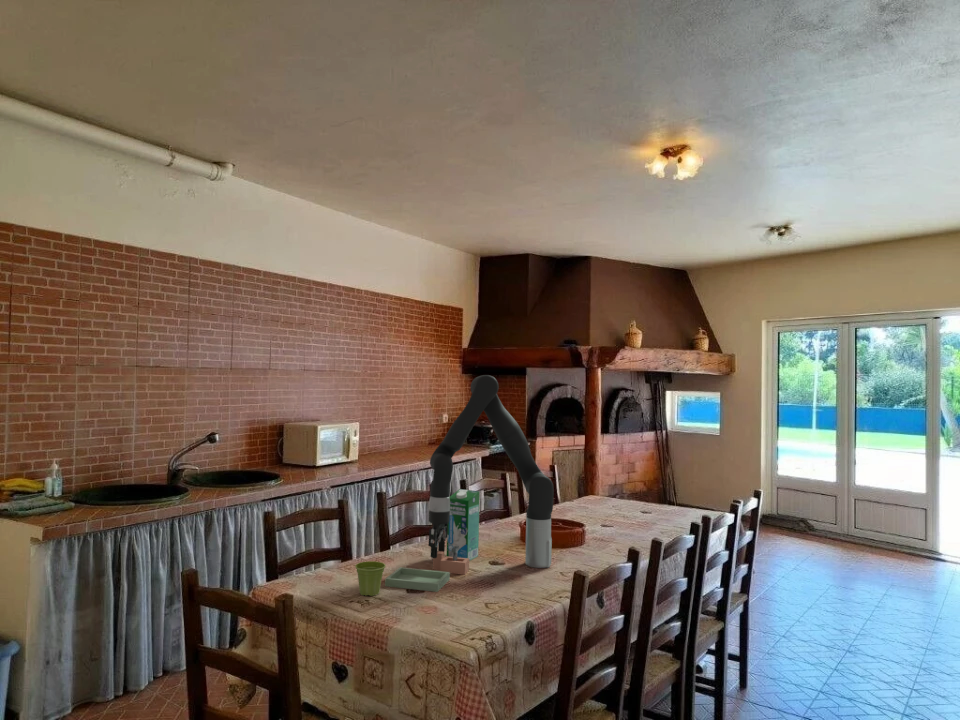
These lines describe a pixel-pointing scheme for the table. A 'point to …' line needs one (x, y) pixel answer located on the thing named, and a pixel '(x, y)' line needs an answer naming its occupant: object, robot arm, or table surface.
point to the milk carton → (464, 524)
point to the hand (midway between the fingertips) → (437, 554)
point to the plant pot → (370, 577)
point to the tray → (417, 579)
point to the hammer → (455, 552)
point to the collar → (450, 564)
